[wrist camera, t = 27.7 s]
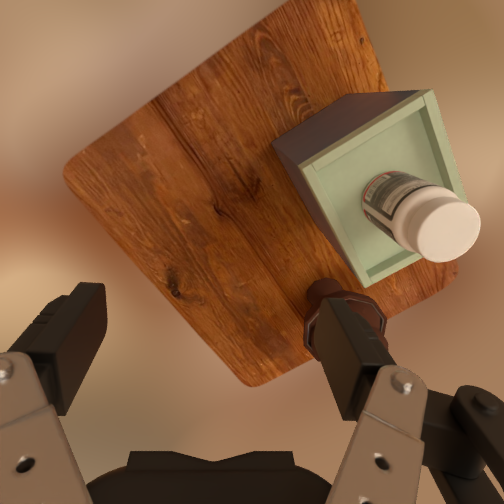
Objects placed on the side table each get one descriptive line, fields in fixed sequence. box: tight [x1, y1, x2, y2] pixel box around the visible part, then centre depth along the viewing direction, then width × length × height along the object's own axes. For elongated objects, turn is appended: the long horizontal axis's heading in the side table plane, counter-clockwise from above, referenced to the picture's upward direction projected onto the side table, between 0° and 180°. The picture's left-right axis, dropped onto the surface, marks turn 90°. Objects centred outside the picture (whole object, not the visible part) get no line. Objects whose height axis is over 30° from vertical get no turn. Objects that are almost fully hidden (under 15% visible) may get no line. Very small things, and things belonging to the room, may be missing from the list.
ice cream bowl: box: [303, 278, 388, 362], centre depth 44 cm, size 11×11×15 cm
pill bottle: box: [362, 171, 480, 262], centre depth 24 cm, size 5×5×8 cm
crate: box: [271, 90, 419, 278], centre depth 35 cm, size 13×11×16 cm
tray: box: [298, 89, 468, 288], centre depth 27 cm, size 13×11×2 cm
